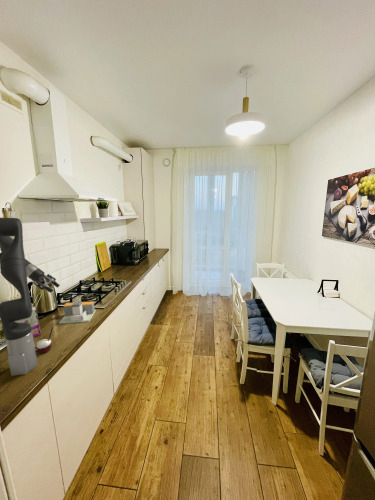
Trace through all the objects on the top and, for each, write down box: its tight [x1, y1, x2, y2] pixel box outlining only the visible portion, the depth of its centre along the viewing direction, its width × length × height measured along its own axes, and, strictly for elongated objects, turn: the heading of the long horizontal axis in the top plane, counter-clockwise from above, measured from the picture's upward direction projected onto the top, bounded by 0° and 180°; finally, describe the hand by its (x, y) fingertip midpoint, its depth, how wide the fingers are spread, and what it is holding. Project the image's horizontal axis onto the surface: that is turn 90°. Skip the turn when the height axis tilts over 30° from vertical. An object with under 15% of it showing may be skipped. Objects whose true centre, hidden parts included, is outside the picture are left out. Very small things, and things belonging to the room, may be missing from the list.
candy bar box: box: [14, 306, 42, 338], centre depth 116 cm, size 11×5×16 cm, turn 129°
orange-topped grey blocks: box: [58, 301, 97, 325], centre depth 138 cm, size 14×18×8 cm
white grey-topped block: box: [72, 301, 83, 316], centre depth 135 cm, size 4×4×10 cm
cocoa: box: [35, 326, 54, 354], centre depth 105 cm, size 10×6×12 cm, turn 98°
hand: (55, 288), depth 131 cm, fingers open, 8 cm apart
